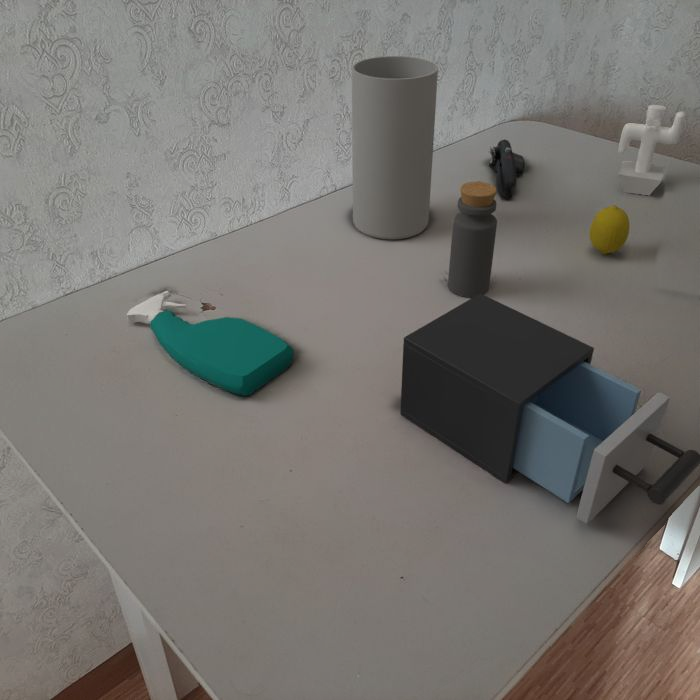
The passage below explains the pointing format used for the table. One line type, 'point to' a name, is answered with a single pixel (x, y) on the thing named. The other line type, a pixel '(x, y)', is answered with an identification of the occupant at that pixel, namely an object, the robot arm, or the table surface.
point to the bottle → (473, 240)
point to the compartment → (596, 440)
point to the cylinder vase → (392, 144)
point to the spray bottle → (216, 346)
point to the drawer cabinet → (482, 378)
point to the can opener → (506, 167)
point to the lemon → (609, 229)
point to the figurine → (647, 150)
